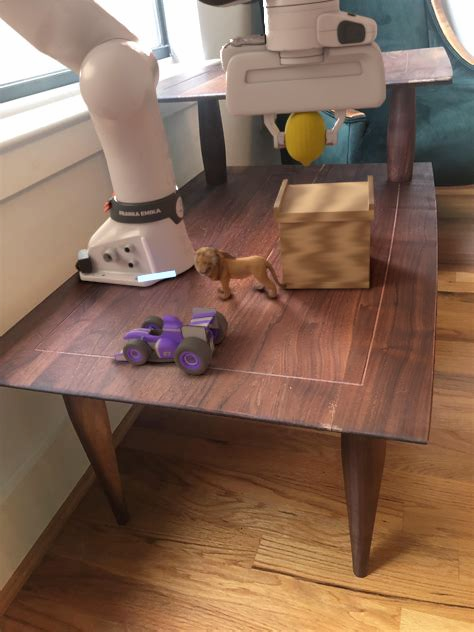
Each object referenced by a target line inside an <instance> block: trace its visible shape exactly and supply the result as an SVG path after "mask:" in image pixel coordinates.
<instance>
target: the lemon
mask: <svg viewBox="0 0 474 632" xmlns="http://www.w3.org/2000/svg"><path fill="white" fill-rule="evenodd" d="M326 127H327V126H326V123H325V120H324V118H323V116H322V114H321V113H320V111H314V112H298V113H290V114H289V116H288V118H287V120H286V123H285V128H284V132H285V144H286V150H287V153H288V154H289V156H290V157H291V158H292V159H293V160H295V161H297V162H299V163H301V164H302V165H303V167H308V166H310V165H311V164H312V162H314V161H315V160H318V159H319V158H320V156H321V155H322V154H323V153H324V151H325V148H326V130H327V128H326Z"/></svg>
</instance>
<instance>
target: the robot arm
mask: <svg viewBox="0 0 474 632" xmlns="http://www.w3.org/2000/svg"><path fill="white" fill-rule="evenodd" d="M198 1H199V2H200V3H202V4H204V5H207V6H210V7H214V8H229V7H236V6H239V5H243V6H244V5H247V6H248V5H253V4H257V3H260V2H261V1H263V14H264V26H265V28H264V29H265V33H261V34H253V35H247V36H234V37H231V38H230V40H229V41H227V42H225V43H224V44H223V45H222V48H221V50H220V62H221V69H222V71H223V73H224V74H225V105H226V106H225V107H226V110H227V112H229V114H230V115H231V116H232V117H248V116H249V117H250V116H263V124H264V125H265V127H266V128H267V129H268V131H269V133H270V135H272V137H273V147H274V149H285V148H286V144H285V131H280V129H279V127H278V126H277V124H276V123H275V121H276V120H277V118H278V117H277V115H281V114H292V113H298V112H314V111H318V112H328V111H334V119H335V120H336V122H335V123H334V125H333V128H330V129H326V145H325V147H330V146H331V147H333V146H334V147H335V146H338V140H339V138H338V137H339V136H338V135H339V132H340V129H341V128H342V126H343V124H344V122H345V120H346V118H347V110H361V109H374V108H375V109H376V108H380V107H381V106H382V104H383V103H384V102H385V101H386V99H387V85H386V84H387V82H386V69H385V61H384V56H383V53H382V49H381V48H380V46H379V44H378V43H377V42H376V41H375V40H376V38H377V35H378V24H377V22H376V21H375V20H374V19H373V18H371V17H368V16H363V15H359V14H356V13H354V12H346V11H343V10H341V9H340V0H198ZM0 19H1V20H2V21H3V22H4V23H5V24H7V25H8V27H10V28H12V29H13V31H15V32H16V33H17V34H18V35H19V36H21V37H22V38H23V39H24V40H25V41H26V42H27V43H29V44H30V45H31V46H32V47H34V48H35V50H37V51H38V52H40V53H42V54H44V55H45V56H47V57H50V58H52V59H53V60H55V61H56V62H58V63H59V64H60V65H62V66H64V67H66V68H67V69H68V70H70V71H71V72H73V73H74V74H76V75H77V76H78V77H79V78H78V79H79V80H78V83H79V91H80V95H81V98H82V99H83V102H84V103H85V105H86V107H87V111H88V113H89V118H90V119H91V122H92V125H93V127H94V130H95V133H96V135H97V138H98V140H99V143H100V145H101V147H102V150H103V151H102V152H103V154H104V157H105V161H106V164H107V169H108V172H109V177H110V182H111V185H112V189H113V192H112V194H111V197H109V199H108V200H107V201H106V203H105V204H104V206H103V209H104V213H108V212H109V214H110V215H109V217H108V218H107V219H106V220H105V222H104V223H102V224H101V226H99V228H98V229H97V230H96V231H95V232H94V233H93V234H92V236H91V237H90V239H89V241H88V244H87V248H84V249H79V250H78V253H77V261H76V262H75V265H74V267H75V269H76V270H77V271H78V272H79V278H80V280H81V281H87V282H96V283H104V284H115V285H123V286H124V285H125V286H131V287H133V286H134V287H143V288H144V287H145V288H146V287H150V286H152V285H154V284H156V283H158V282H160V281H162V280H165V279H169V278H173V277H176V276H178V275H180V274H182V273H185V272H186V271H187V270H190V269H191V268H192V267H193V266H195V259H194V258H195V256H194V253H195V252H196V251H195V249H194V247H193V245H192V242H191V240H190V238H189V235H188V231H187V228H186V225H185V221H184V206H183V205H184V204H183V199H182V196H181V192H180V188H179V186H178V185H177V184H176V183H177V182H176V178H175V172H174V166H173V159H172V155H171V149H170V143H169V140H168V136H167V133H166V130H165V125H164V121H163V118H162V114H161V109H160V104H159V99H158V94H157V87H158V84H159V80H160V65H159V61H158V59H157V57H156V55H155V53H154V52H153V50H152V49H151V48H150V46H149V45H148V44H146V43H145V42H144V41H143V40H142V39H141V38H140V37H139V36H138V35H136V34H135V33H134V32H133V31H132V30H130V29H129V28H128V27H127V26H126V25H125V24H123V23H122V22H121V21H120V20H118V18H116V17H115V16H114V15H113V14H112V13H110V12H109V11H108V10H106V9H105V8H104V7H103V6H101V5H100V4H99V2H97V1H95V0H0ZM229 46H230V47H229ZM286 149H287V148H286Z"/></svg>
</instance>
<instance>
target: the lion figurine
mask: <svg viewBox="0 0 474 632" xmlns="http://www.w3.org/2000/svg"><path fill="white" fill-rule="evenodd" d="M194 256H195V258H194V259H195V263H194V268H195V270H196V271H197V273H199V274H200V276H201V277H202V276H204V277H206V278H209V280H210V281H212V282H220V285H221V287H220V291H221V292H223V293H222V294H221V296H220V297H221V299H222V300H227V299H229V297H230V294H231V290H230V283H231V280H245V279H247V278H249V277H251V276H252V275H253V277H254V278H255V279H256V280H257V281H258V282H259V284H258V283H257V284H256V285H255V290H261V289H263V288H264V287H266V288H268V289H269V290H271V291H270V292H269V293H268V296H269V298H276V297H277V294H278V289H277V288H276V287H277V286H278V287H279V288H281V289H284V288H287V286H286V285H284V284H283V283H281V282H280V281H279V278H278V277H277V274H276V272H275V269H274V267H273V265H272V264H271V263H270V262H269V260H268V259H266V258H265V257H263V256H260V255H251V256H247V257H235V256H232V255H231V254H230V253H229V252H227V251H224V250H222V249H219V250H218V248H216V247H210V246H207V247H206V246H203V247H200V248H198V249H197V250H196V251H195V253H194ZM268 271H269V272H270V274H271V276H272V278H273V280H274V281H272V280H271V279H270V277H269V276H268ZM274 282H275V283H276V284H275V283H274ZM276 285H277V286H276ZM287 289H288V288H287Z"/></svg>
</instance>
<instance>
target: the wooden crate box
mask: <svg viewBox="0 0 474 632" xmlns="http://www.w3.org/2000/svg"><path fill="white" fill-rule="evenodd" d="M374 189H375V188H374V175H367V181H347V182H346V181H345V182H323V183H303V184H301V183H299V184H289V179H288V178H285V179H283V180H282V183H281V185H280V189H279V191H278V194H277V197H276V200H275V203H274V205H273V220H274V224H278V235H279V247H280V248H279V249H280V261H281V275H282V284H284V285H286V286H287V288H284V289H286V290H287V289H370V271H371V270H370V269H371V267H370V266H371V264H370V263H371V256H370V255H371V221H375V191H374Z"/></svg>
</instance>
